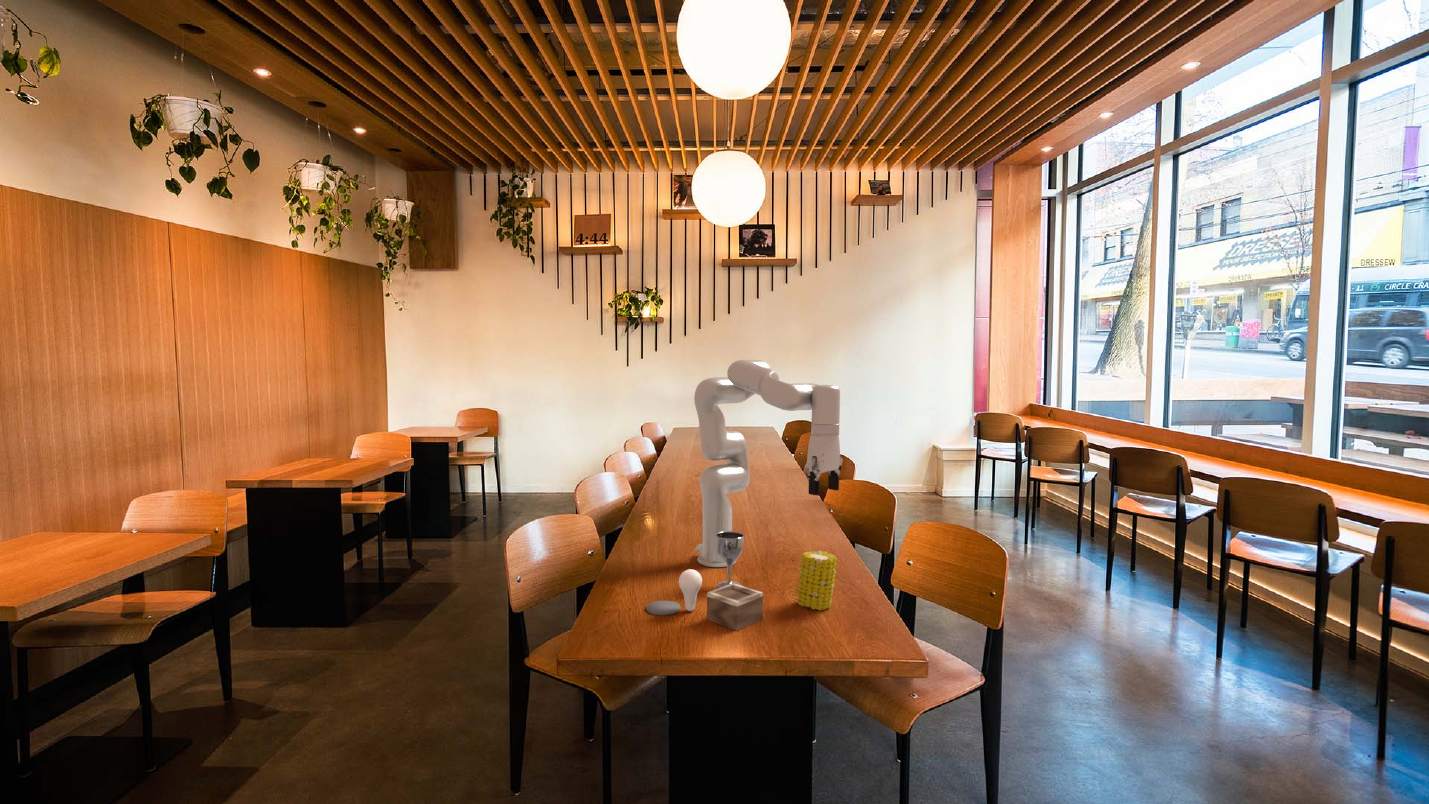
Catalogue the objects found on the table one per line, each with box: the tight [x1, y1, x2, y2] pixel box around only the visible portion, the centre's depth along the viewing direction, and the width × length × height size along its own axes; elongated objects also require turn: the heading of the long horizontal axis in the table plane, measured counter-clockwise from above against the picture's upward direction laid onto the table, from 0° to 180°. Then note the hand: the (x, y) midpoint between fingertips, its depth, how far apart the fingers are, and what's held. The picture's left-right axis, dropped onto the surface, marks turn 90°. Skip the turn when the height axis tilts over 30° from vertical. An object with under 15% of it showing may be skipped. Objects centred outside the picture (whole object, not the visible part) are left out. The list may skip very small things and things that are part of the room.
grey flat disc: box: [645, 600, 681, 617], centre depth 175 cm, size 9×9×1 cm
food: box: [796, 550, 838, 611], centre depth 179 cm, size 15×12×10 cm
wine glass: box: [716, 530, 745, 588], centre depth 193 cm, size 8×8×15 cm
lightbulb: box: [678, 568, 703, 612], centre depth 173 cm, size 6×6×11 cm
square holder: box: [706, 583, 764, 632], centre depth 168 cm, size 10×10×7 cm
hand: (823, 492), depth 183 cm, fingers open, 9 cm apart
